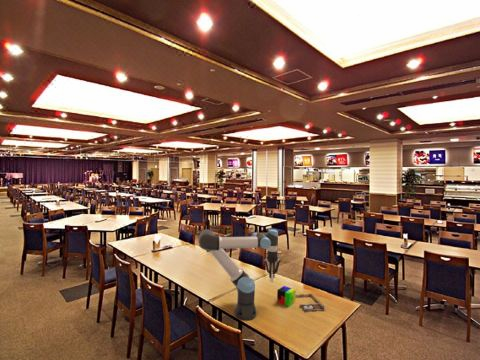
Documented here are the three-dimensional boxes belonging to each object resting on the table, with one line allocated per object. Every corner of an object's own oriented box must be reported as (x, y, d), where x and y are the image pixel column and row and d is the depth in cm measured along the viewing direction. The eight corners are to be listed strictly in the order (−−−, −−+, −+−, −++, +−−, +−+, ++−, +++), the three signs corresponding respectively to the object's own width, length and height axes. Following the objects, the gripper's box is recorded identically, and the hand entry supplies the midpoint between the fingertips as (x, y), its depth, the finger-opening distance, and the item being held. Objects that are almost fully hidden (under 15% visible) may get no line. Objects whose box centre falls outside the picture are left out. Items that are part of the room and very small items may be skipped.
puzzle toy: (283, 298, 201) (284, 285, 201) (295, 302, 195) (295, 289, 195) (277, 303, 193) (277, 289, 193) (288, 307, 187) (289, 293, 187)
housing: (303, 313, 179) (304, 308, 179) (291, 297, 203) (291, 293, 203) (326, 312, 182) (326, 307, 182) (311, 296, 205) (311, 292, 205)
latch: (304, 311, 181) (305, 306, 181) (303, 309, 183) (303, 304, 183) (312, 310, 182) (312, 306, 182) (311, 309, 184) (311, 304, 184)
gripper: (265, 252, 187) (264, 284, 187) (282, 251, 189) (281, 283, 189) (262, 249, 195) (261, 280, 195) (279, 249, 197) (278, 279, 197)
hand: (271, 282), depth 192 cm, fingers closed
